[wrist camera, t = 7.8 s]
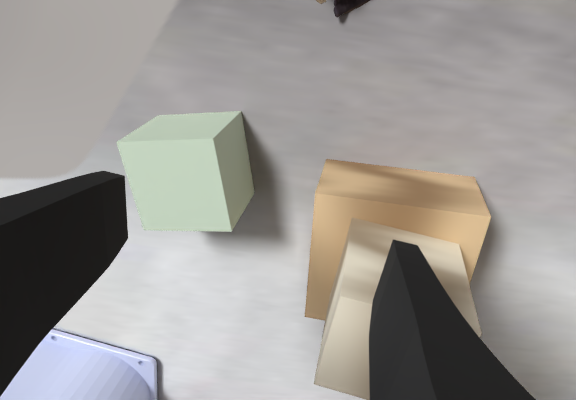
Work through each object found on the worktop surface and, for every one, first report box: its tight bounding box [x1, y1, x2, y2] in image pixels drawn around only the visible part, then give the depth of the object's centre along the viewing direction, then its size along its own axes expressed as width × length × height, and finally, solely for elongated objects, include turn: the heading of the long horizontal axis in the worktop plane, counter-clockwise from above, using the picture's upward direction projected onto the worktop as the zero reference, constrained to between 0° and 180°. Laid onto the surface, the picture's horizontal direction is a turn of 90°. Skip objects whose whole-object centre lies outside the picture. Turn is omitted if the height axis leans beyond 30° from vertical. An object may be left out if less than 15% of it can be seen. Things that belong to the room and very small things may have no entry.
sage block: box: [117, 111, 255, 232], centre depth 21 cm, size 4×4×4 cm
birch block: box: [314, 217, 482, 400], centre depth 17 cm, size 4×4×5 cm
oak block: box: [305, 159, 491, 320], centre depth 21 cm, size 7×7×4 cm
